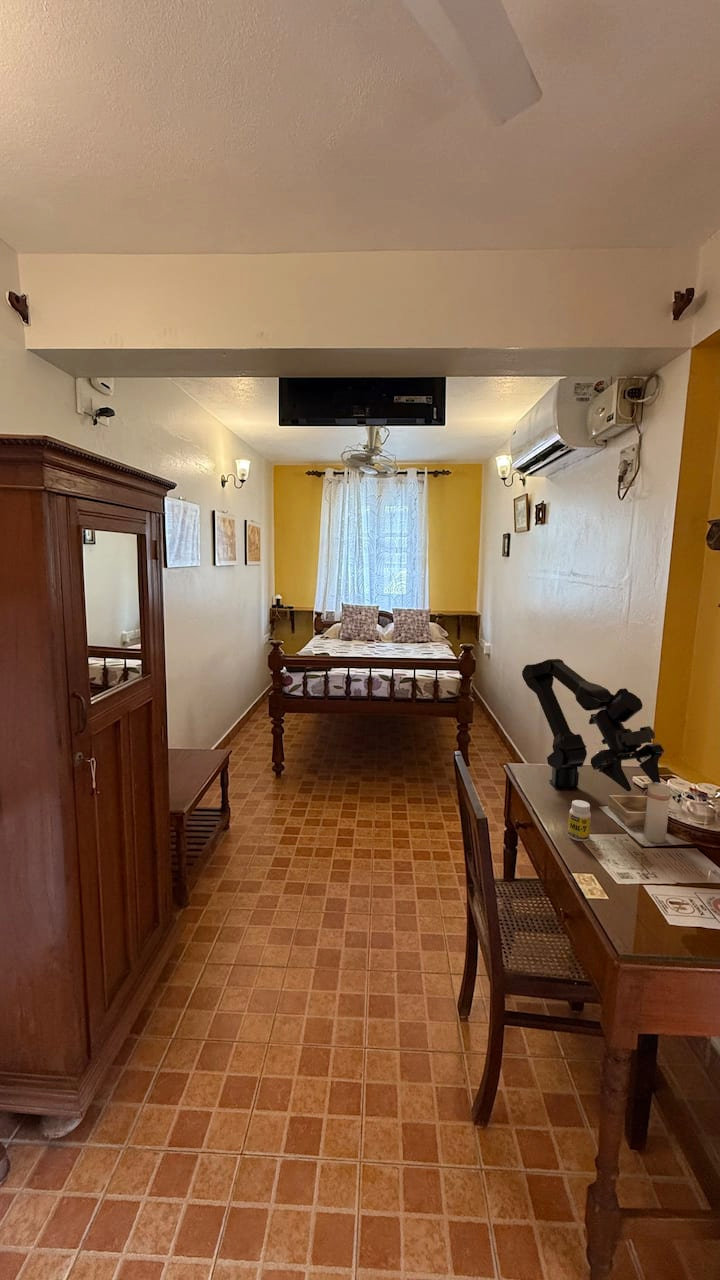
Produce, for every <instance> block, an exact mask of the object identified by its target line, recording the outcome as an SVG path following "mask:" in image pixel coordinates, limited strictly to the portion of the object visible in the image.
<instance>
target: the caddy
mask: <svg viewBox="0 0 720 1280" xmlns="http://www.w3.org/2000/svg"><path fill="white" fill-rule="evenodd" d="M646 806H647V795H618V794H617V795H614V794H613V795H611V794H609V795H608V801H607V809H608V810H610V812H612V814H613V815H614V816H615V817H616V818H617V819H618V820H619V821H620V822H621V823H622V824H623V825H624V826H625V827H645V817H646ZM667 824H668V822H667Z"/></svg>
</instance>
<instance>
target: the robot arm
mask: <svg viewBox="0 0 720 1280" xmlns="http://www.w3.org/2000/svg"><path fill="white" fill-rule="evenodd" d="M521 676H522V679H523V680H524V682H525V684H526V686H527V687H528V688H529V689H530V690H531V691H532V692H533V693H535V694H536V696H537V699H538V701H539V704H540V706H541V709H542V711H543V713H544V715H545V719H546V721H547V723H548V726H549V729H550V731H551V733H552V735H553V740H552V741H553V742H552V751H553V752H552V753H550V754H549V755H548V756H547V757H546V759H547V765H548V766H550V767H551V779H549V781H550V782H549V783H550V784H551V786H554V787H553V788H554V789H555V790H556V791H579V781H580V779H579V777H580V773H579V771H578V770H579V769H578V768H582V767H583V765H584V763H585V761H586V758H587V756H588V752H587V749H586V748H587V745H586V744H585V742H584V740H583V737H582V735H581V734H580V733H577V734H576V733H574V732H572V731H571V729H570V728H571V727H569V724H568V721H567V719H566V716H565V715H564V712H563V710H562V708H561V706H560V702H559V701H558V698H557V696H556V694H555V692H554V689H553V684H554V679H556V680H557V681H558V682H559V683H561V684H562V685H563V686H564V687H566V688H567V689H568V690H569V691H571V693H572V694H574V697H575V701H576V702H577V704H579V705H580V706H581V708H582V709H583V710H585V711H588V712H590V711H597V713H592V714H590V718H589V720H588V724H589V725H596V726H597V729H598V730H599V731H600V734H601V735H602V738H603V739H602V740H601V744H602V745H607V747H608V749H601V750H600V751H598V752H597V753H596V754H595V755H593V756H592V757H591V758H590V765H591V767H592V768H593V770H594V771H596V770H597V771H598V772H599V773H602V774H604V775H605V776H607V778H610V779H611V780H612V781H614V782H615V783H616V784H617V785H619V786H620V787H621V788H622V789H624V790H625V791H626V792H628V793H629V792H631V791H632V787H631V784H630V782H629V780H628V778H627V777H626V774H625V772H624V770H623V768H622V761H628V760H629V761H630V760H636V761H637V762H638V763H640V764H638V766H639V767H640V769H641V770H642V771H643V773H645V774H646V775H647V777H648V778H649V779H650V780H651V781H650V782H658V783H662V781H661V777H660V772H659V771H660V770H659V760H660V758H662V756H663V754H665V750H664V748H663V746H662V745H661V744H659V743H656V742H655V743H653V740H654V739H655V738H656V734H655V731H654V730H653V729H652V727H651V726H649V725H648V726H644V727H643V726H641V727H640V728H639V730H636V731H634V730H633V731H632V729H630V728H625V725H624V724H623V723H626V722H628V721H629V720H630V719H632V718H633V717H634V716H635V715H636V714H638V712H640V711H641V710H642V709H643V706H644V705H643V703H642V700H641V699H640V697H638V696H637V695H636V694H635V693H633V692H631V691H628V689H627V688H619V689H618V690H617V691H616V693H615V694H613V693H611V692H610V690H608V688H606V687H604V686H602V685H600V684H596V683H593V682H590V681H588V680H586V679H585V678H584V677H582V676H581V675H580V674H579V673H577V672H576V671H574V670H573V669H572V668H571V667H569V666H568V665H567V664H566V663H565V662H564V660H563V659H560V658H550V659H546V660H543V661H542V662H541V661H540V662H538V663H535V664H526V665H524V668H523V669H522V671H521ZM646 743H648V744H646ZM643 744H645V745H643ZM642 745H643V746H642Z"/></svg>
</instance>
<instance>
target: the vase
mask: <svg viewBox="0 0 720 1280" xmlns="http://www.w3.org/2000/svg"><path fill="white" fill-rule="evenodd" d="M646 796H647V806H646V817H645V826H644V827H643V828H644V831H643V837H644V839H645V840H647V841H649V842H651V843H654V842H655V843H654V844H664V843H666V842H665V841H667V831H668V823H667V822H668V820H669V809H670V799H671V786H670V785H668V784H665V783H662V782H661V783H658V782H652V781H650V782H648V786H647V793H646Z"/></svg>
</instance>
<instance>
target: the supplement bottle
mask: <svg viewBox="0 0 720 1280" xmlns="http://www.w3.org/2000/svg"><path fill="white" fill-rule="evenodd" d="M590 810H591V805H590V803H589V802H587V801H585V800H581V799H575V800H572V802H571V808H570V809H569V813H568V829H567V836H568V837H569V838H570V839H572V840H573V841H578V842H586V841H588V840H589V839H590V834H591V833H590V831H591V819H592V814H591V813H592V812H591V811H590Z"/></svg>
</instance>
